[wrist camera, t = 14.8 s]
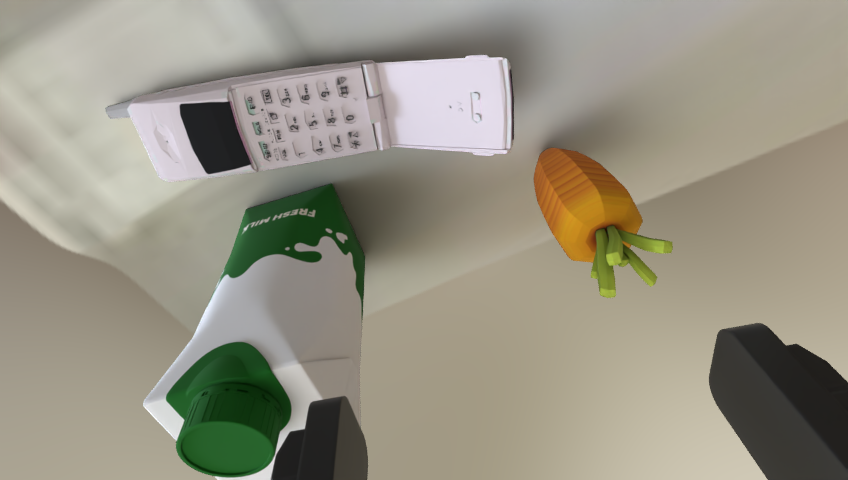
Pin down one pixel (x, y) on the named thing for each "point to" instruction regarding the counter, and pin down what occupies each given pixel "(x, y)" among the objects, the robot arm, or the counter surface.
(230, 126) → the mobile phone
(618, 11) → the counter surface
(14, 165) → the counter surface
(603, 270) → the carrot
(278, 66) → the counter surface
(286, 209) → the milk carton
